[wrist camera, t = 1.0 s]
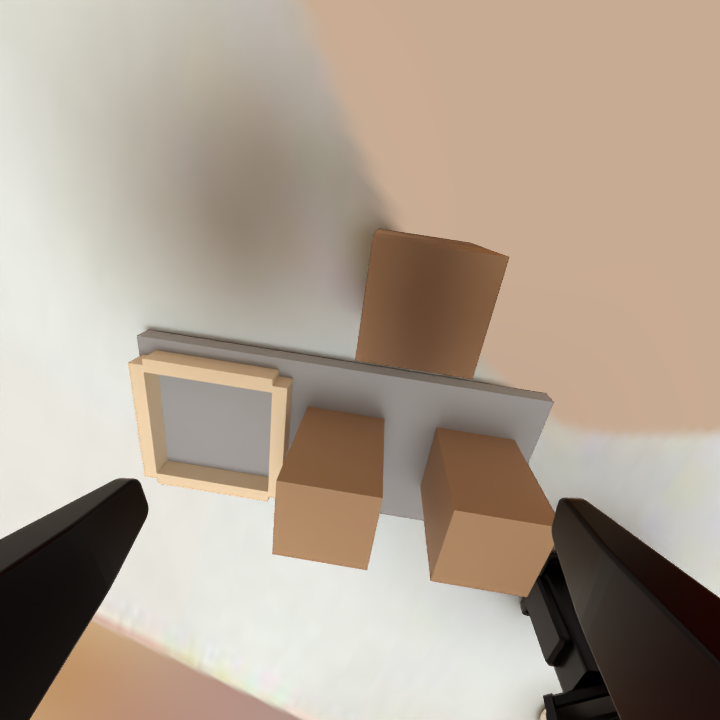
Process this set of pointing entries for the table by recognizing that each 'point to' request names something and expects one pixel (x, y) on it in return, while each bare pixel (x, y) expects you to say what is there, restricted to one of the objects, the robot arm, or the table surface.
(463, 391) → the holder
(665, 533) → the table surface
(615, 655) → the robot arm
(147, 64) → the table surface
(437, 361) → the walnut block
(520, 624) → the table surface
